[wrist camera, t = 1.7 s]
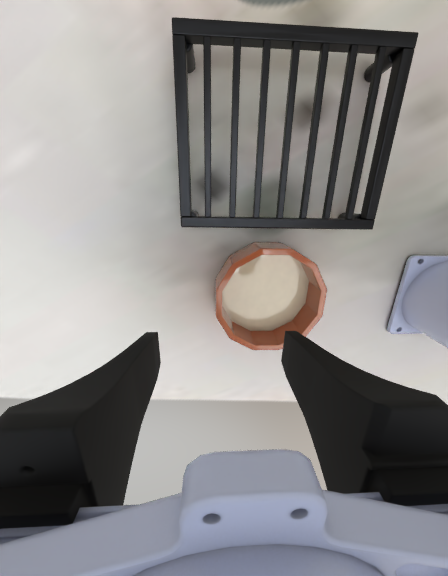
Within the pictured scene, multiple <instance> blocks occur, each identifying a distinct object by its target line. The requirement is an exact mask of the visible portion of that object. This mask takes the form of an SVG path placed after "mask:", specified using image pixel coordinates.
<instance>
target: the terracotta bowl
mask: <svg viewBox="0 0 448 576" xmlns="http://www.w3.org/2000/svg"><path fill="white" fill-rule="evenodd" d="M326 289H327V288H326V286H325V283H324V281H323V279H322V276H321V274H320V271H319V269H318V267H317V265H316V264H315V263H314V262H312V261H311V260H309V259H307V258H306V257H304V256H303V255H301V254H300V253H298V252H297V251H295V250H293V249H292V248H290V247H288V246H286V245H285V244H283V243H273V242H254V243H252V244H250V245H248V246H246V247H244V248H243V249H241V250H239V251H237V252H235V253H234V254H232V255H230V256H229V257H228V259H227V261H226V262H225V264H224V266H223V267H222V269H221V270H220V272H219V274H218V275H217V277H216V293H215V303H216V318H217V319H218V321H219V322H220V324H221V325H222V327H223V329H224V330H225V332H226V333H227V335H228V336H229V338H230V339H232V340H234V341H236V342H238V343H240V344H242V345H244V346H246V347H248V348H250V349H252V350H280V349H283V344H284V336H285V331H297V332H299V333H300V334H302V335H303V336H305V337H306V336H307V334H308V333H309V332H310V331H311V330H312V328H313V327H314V326H315V325H316V323H317V322H318V321H319V320H320V318H321V317H322V315H323V309H324V304H325V298H326V293H327V290H326Z"/></svg>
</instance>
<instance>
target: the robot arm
mask: <svg viewBox="0 0 448 576" xmlns="http://www.w3.org/2000/svg"><path fill="white" fill-rule="evenodd" d="M419 260H420V261H419ZM418 261H419V262H418ZM397 328H398V329H397ZM387 331H388V332H390V333H391V334H412V333H424V334H426V335H427V336H429V337H431V338H432V339H434V340H435V341H437V342H439V343H440V344H442V345H444V346H445V347H447V348H448V256H443V255H413V256H410V257H409V258H408V260H407V263H406V266H405V269H404V273H403V276H402V280H401V283H400V286H399V290H398V293H397V296H396V300H395V303H394V307H393V310H392V313H391V317H390V320H389V323H388V327H387ZM281 361H282V364H283V368H284V371H285V374H286V377H287V380H288V382H289V384H290V386H291V388H292V391H293V393H294V395H295V397H296V399H297V401H298V404H299V406H300V408H301V410H302V412H303V415H304V417H305V420H306V423H307V425H308V428H309V431H310V434H311V437H312V440H313V443H314V447H315V449H316V453H317V456H318V459H319V462H320V466H321V469H322V473H323V476H324V480H325V483H326V486H327V490H328V491H327V490H322V489H321V487H320V484H319V481H318V479H317V476H316V473H315V471H314V468H313V466H312V463H311V461H310V459H309V458H307V457H306V456H305V455H303V454H302V453H301V452H299V451H293V450H287V449H275V450H274V449H272V450H248V451H223V452H212V453H208V454H203V455H200V456H199V457H197V458H196V459H195V460H193V461H192V462H191V463H189V464H188V465H187V467H186V470H185V473H184V477H183V487H182V493H178V494H175V495H171V496H168V497H165V498H161V499H157V500H154V501H150V502H147V503H144V504H140V505H123V503H124V498H125V493H126V488H127V484H128V479H129V474H130V470H131V465H132V461H133V456H134V452H135V447H136V444H137V440H138V436H139V431H140V428H141V424H142V421H143V418H144V415H145V412H146V409H147V406H148V404H149V401H150V398H151V395H152V392H153V390H154V387H155V384H156V381H157V377H158V373H159V368H160V363H161V362H160V351H159V341H158V332H147V333H145V334H144V335H143V336H141V337H140V338H139V339H138V340H137V341H135V342H134V343H133V344H132V345H130V346H129V347H128V348H127V349H125V350H124V351H123V352H122V353H120V354H119V355H117V356H116V357H115V358H113V359H112V360H111V361H109V362H108V363H106V364H105V365H103V366H102V367H100V368H98V369H97V370H95V371H93V372H92V373H90V374H88V375H86V376H84V377H82V378H80V379H78V380H76V381H74V382H73V383H71V384H69V385H66V386H64V387H62V388H60V389H58V390H55V391H53V392H50V393H48V394H46V395H43V396H40V397H38V398H35V399H32V400H29V401H27V402H24V403H21V404H19V405H15V406H12V407H9V408H8V409H7V410H6V411H5V412H4V413H3V414H2V415H1V416H0V576H448V405H447V404H446V403H445V402H443V401H442V400H441V399H440V398H439V397H438V396H436V395H433V394H430V393H426V392H423V391H419V390H416V389H412V388H408V387H405V386H402V385H399V384H396V383H393V382H390V381H388V380H385V379H382V378H380V377H377V376H375V375H372V374H370V373H368V372H365V371H363V370H361V369H359V368H357V367H355V366H353V365H351V364H349V363H347V362H345V361H343V360H341V359H339V358H338V357H336V356H334V355H332V354H331V353H329V352H327V351H326V350H324V349H323V348H321V347H320V346H318V345H317V344H315V343H314V342H312V341H311V340H309V339H308V338H306V337H305V336H303V335H302V334H300V333H299V332H297V331H285V336H284V344H283V352H282V360H281Z"/></svg>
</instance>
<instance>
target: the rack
mask: <svg viewBox="0 0 448 576" xmlns="http://www.w3.org/2000/svg"><path fill="white" fill-rule="evenodd" d="M172 34H173V57H174V79H175V101H176V123H177V145H178V168H179V190H180V212H181V226H182V227H224V228H300V229H373V225H374V219H375V216H376V212H377V208H378V204H379V199H380V195H381V191H382V186H383V182H384V178H385V174H386V169H387V165H388V161H389V156H390V152H391V148H392V144H393V139H394V135H395V131H396V126H397V122H398V118H399V113H400V109H401V105H402V101H403V96H404V92H405V88H406V83H407V79H408V75H409V71H410V66H411V62H412V58H413V53H414V48H415V46H416V41H417V37H418V33H417V32H401V31H384V30H368V29H352V28H335V27H319V26H303V25H287V24H270V23H254V22H238V21H221V20H205V19H189V18H172ZM193 44H203V45H204V144H205V216H198V213H197V212H196V211H194V210H191V178H190V144H189V110H188V76H187V72H188V73H190V72H192V71H193V70H194V69H195V58H194V49H193ZM211 45H221V46H233V80H232V122H231V163H230V204H229V217H211ZM241 47H257V48H263V50H262V67H261V84H260V101H259V119H258V136H257V153H256V171H255V188H254V205H253V217H235V207H236V177H237V146H238V116H239V85H240V55H241ZM270 48H275V49H291V60H290V71H289V82H288V93H287V104H286V115H285V126H284V137H283V148H282V159H281V170H280V181H279V192H278V203H277V214H276V218H270V217H259V212H260V197H261V182H262V167H263V152H264V137H265V122H266V107H267V92H268V78H269V63H270ZM300 50H311V51H320V55H319V63H318V71H317V79H316V87H315V95H314V103H313V111H312V119H311V127H310V135H309V143H308V151H307V159H306V167H305V175H304V184H303V192H302V200H301V208H300V216H299V218H283V211H284V201H285V191H286V181H287V171H288V161H289V151H290V142H291V132H292V122H293V112H294V102H295V92H296V82H297V72H298V62H299V52H300ZM328 52H347V53H348V56H347V63H346V69H345V75H344V82H343V88H342V94H341V101H340V107H339V113H338V120H337V126H336V133H335V139H334V145H333V152H332V158H331V164H330V171H329V177H328V183H327V190H326V196H325V203H324V209H323V215H322V218H306V216H307V209H308V201H309V194H310V186H311V179H312V171H313V164H314V157H315V149H316V142H317V134H318V127H319V119H320V112H321V105H322V97H323V90H324V82H325V75H326V67H327V60H328ZM357 53H365V54H376V55H375V61H374V63H373V64H371V65H370V66H369V67H368V68H367V69H366V71H365V79H366V81H368V82H370V87H369V92H368V98H367V103H366V108H365V113H364V119H363V124H362V129H361V135H360V140H359V145H358V150H357V156H356V161H355V166H354V171H353V177H352V182H351V187H350V193H349V198H348V203H347V208H346V213H342V214H341V215H340V216H339V219H334V218H330V212H331V206H332V200H333V194H334V188H335V182H336V176H337V170H338V164H339V158H340V152H341V146H342V141H343V135H344V129H345V123H346V117H347V111H348V105H349V99H350V93H351V87H352V81H353V75H354V69H355V63H356V57H357ZM390 67H392V69H391V74H390V78H389V83H388V88H387V93H386V97H385V102H384V107H383V112H382V116H381V121H380V126H379V131H378V135H377V140H376V145H375V149H374V154H373V159H372V164H371V168H370V173H369V178H368V183H367V187H366V192H365V197H364V201H363V206H362V211H361V214H354V208H355V203H356V198H357V193H358V188H359V183H360V178H361V173H362V168H363V163H364V158H365V153H366V148H367V143H368V139H369V134H370V129H371V124H372V119H373V114H374V109H375V104H376V99H377V94H378V89H379V84H380V79H381V74H382V73H384V72H385V71H386V70H388V69H389V68H390Z"/></svg>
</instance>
